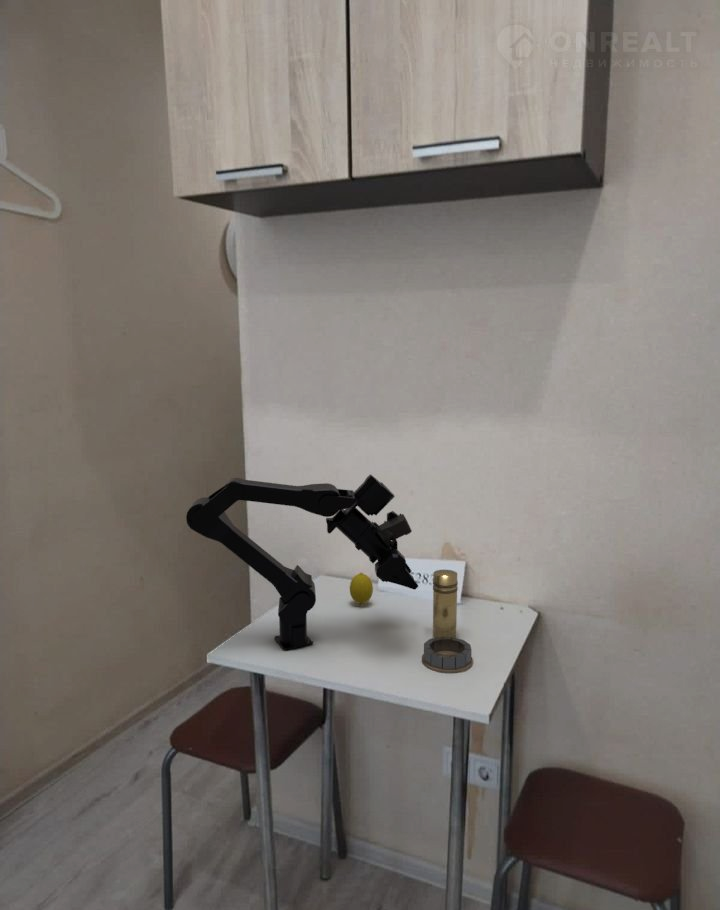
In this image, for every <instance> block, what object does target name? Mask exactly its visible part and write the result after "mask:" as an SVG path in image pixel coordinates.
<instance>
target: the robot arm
mask: <svg viewBox="0 0 720 910" xmlns="http://www.w3.org/2000/svg"><path fill="white" fill-rule="evenodd" d="M395 497H396V495H395V494H394V493H393V492H392V491H391V490H390V489H389V488H388V487H387V486H386V485H385V484H384V483H383V482H381V481H379V480H378V479H377V478H376V477H374V476H373V475H372V474H369V475H367V476H366V478H365V479H364V481H363V482H362V483H361V484H360V485H359V486H358V488H356V490H352V489H351V490H350V489H345V488H344V489H342V488H337V487H336V486H335V485H334V484H331V483H327V482H326V483H325V482H324V483H311V484H305V485H293V484H292V485H291V484H282V483H277V482H276V483H275V482H274V483H273V482H267V481H266V482H265V481H259V480H252V479H251V480H249V479H243V478H240V477H233V478H231V479H230V480H229V481H228V482H227V483H226V484H225V485H223V486H222V487H220V488H218V489H217V490H215V491H214V492H213V493H212V494H210V495H209V496H207V497H200V498H197V499H196V500H195V501H194V502H193V503H192V505H191V506H190V507H189V509H188V510H187V512H186V516H185V517H186V518H185V519H186V524H187V526H188V527H189V528H190V529H191V530H192V531H194V532H195V533H197V534H199V535H200V536H203V537H205V538H206V539H210V540H213V541H215V542H219V543H220V544H222V545H223V547H226V548H227V549H228V550H229V551H230V552H232V553H233V554H234V555H235V556H237V558H239V559H240V560H242V561H243V562H244V563H245V564H247V565H248V566H249V567H251V569H253V570H254V571H255V572H256V573H258V574H259V575H260V576H262V577H263V578H264V579H265V580H267V581H268V582H269V583H270V584H271V585H273V587H274V589H275V590H276V591H277V592H278V595H279V596H280V597H279V599H278V600H279V601H278V609H277V611H278V612H277V615H278V619H279V621H278V623H279V626H278V627H279V635H275V636H274V637H273V638H274V641H276V643H277V644H278V645H279V646H280V648H281V649H282V650H283V651H288V650H293V649H297V648H298V649H299V648H302V647H307V646H312V645H314V641H313V640H312V639H311V638H310V637H309V635H308V625H307V623H308V620H307V614H308V612H309V611H311V610H312V609H313V608H314V606H315V604H316V601H317V598H316V597H317V595H316V585H315V582H314V581H313V577H312V576H313V575H312V574H308V573H307V572H305V571H304V570H303V569H302V568H301V566H299V565H298V564H296V566H295V568H294V569H293V568H289V567H286V566H285V565H284V564H282V563H281V562H280V561H279V560H277V559H276V558H275V557H273V556H272V555H271V554H270V553H268V552H267V551H266V550H265V549H263V548H262V547H261V546H260V545H259V544H257V542H255V541H254V540H253V539H251V538H250V537H249V536H248V535H247V534H245V532H242V531H241V530H240V529H239V528H237V527H236V526H235V525H234V524H233V522H232V520H231V519H230V518H229V516H228V515H227V513H226V511H227V510H228V509H229V508H230V507H232V506H233V505H234V504H235V503H236V502H238V501H246V502H254V503H262V504H270V505H281V506H289V507H295V508H299V509H301V510H303V511H307V512H309V513H310V514H311V513H312V514H314V515H317V516H321V517H324V518H325V517H326V518H325V521H326V531H327V534H331V533H332V532H334V530H335V529H337V530H338V531H339V532H341V534H343V535H344V536H345V537H346V538H347V539H348V540H349V541H351V543H353V544H354V547H355V548H356V549H357V550H358V551H361V552H362V553H363V554H365V555H366V557H368V560H369V561H370V563H372V564H374V573H375V575H376V577H377V578H378V579H380V581H381V582H382V583H384V582H385V583H392V584H395V585H398V586H402V587H406V588H408V589H411V590H416V589H418V588H419V584H418V583H417V581H416V580H415V579H414V577H413V576H412V575H411V573H412V569H411V568H410V567H409V565H408V564H407V560H406V558H405V556H404V555H403V554H402V552H400V551H399V549H398V541H397V540H398V539H399V538H401V537H403V536H407V535H410V534H411V533H412V531H413V530H412V528H411V526H410V524H409V522H408V520H407V518H406V516H405V515H404V513H399V514H398V513H396V511H394V510H392V511H389V512H387V513H386V520H384V521H383V523H382V524H378V523H377V521H371V520H369V518H367V517H366V516H369V517H370V516H371V517H372V516H377V515H378V514H380V512H381V511H382V510H384V508H385V507H386V506H387V505H388V504H389V503H390V502H391V501H392V500H394V498H395ZM358 508H359V509H360V510H361V511H362V512H364V514H366V516H365V515H364V514H363V513H362V512H361V511H360V510H359V509H358ZM376 561H377V562H376ZM375 562H376V563H375Z"/></svg>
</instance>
